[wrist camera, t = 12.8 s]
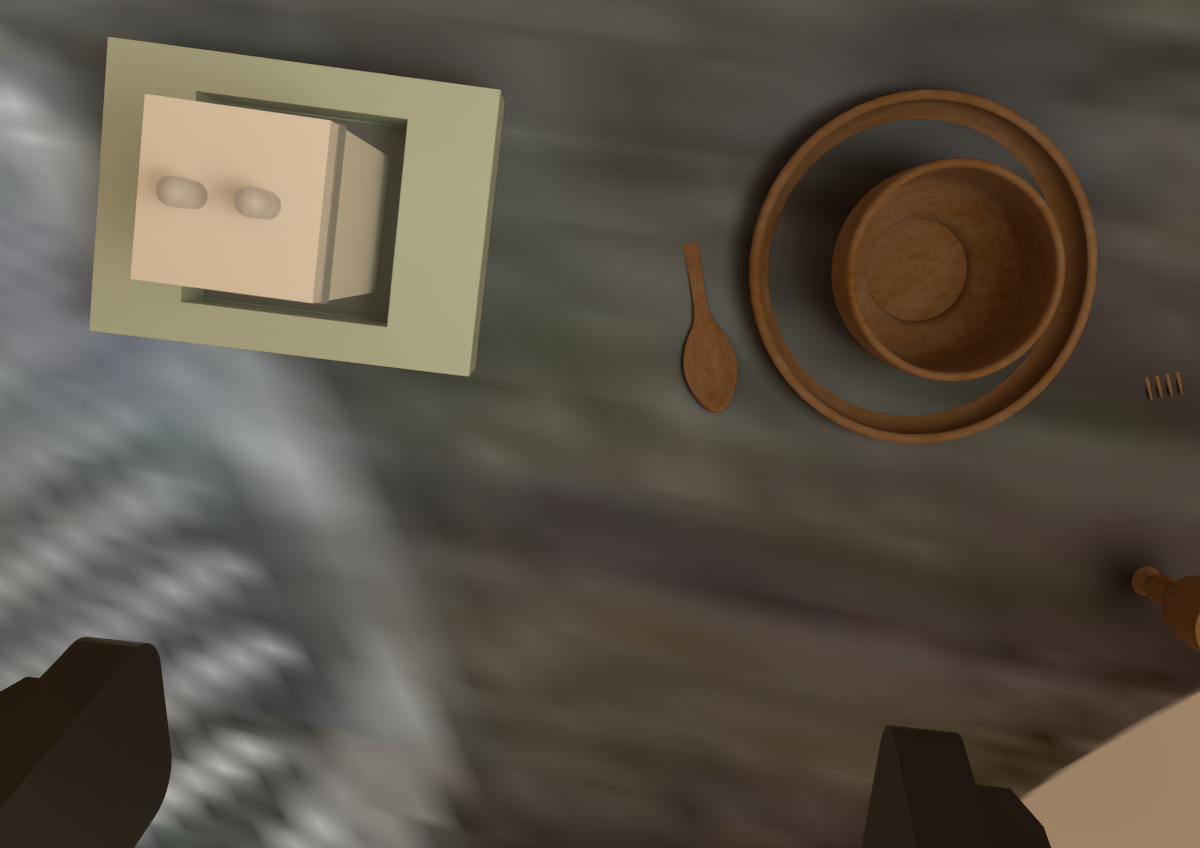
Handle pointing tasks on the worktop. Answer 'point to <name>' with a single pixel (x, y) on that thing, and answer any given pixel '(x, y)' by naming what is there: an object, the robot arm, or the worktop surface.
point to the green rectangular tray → (410, 224)
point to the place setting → (941, 286)
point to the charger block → (256, 203)
